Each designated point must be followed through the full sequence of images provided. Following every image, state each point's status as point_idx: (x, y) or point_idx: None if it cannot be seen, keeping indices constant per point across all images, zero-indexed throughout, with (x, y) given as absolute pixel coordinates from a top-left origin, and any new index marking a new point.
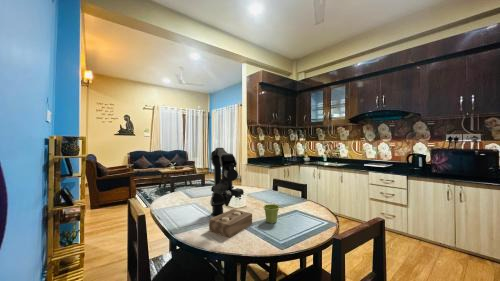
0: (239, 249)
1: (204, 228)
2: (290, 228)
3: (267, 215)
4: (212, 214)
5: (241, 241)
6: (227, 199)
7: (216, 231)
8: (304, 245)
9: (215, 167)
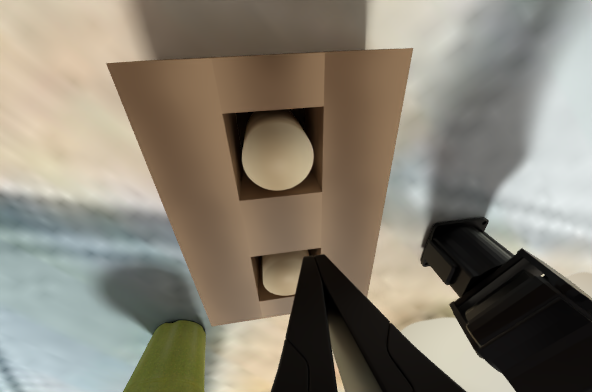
0: None
1: (417, 54)
2: (55, 338)
3: (166, 355)
4: (474, 221)
5: (42, 74)
6: (279, 379)
7: (291, 53)
8: None
9: None
